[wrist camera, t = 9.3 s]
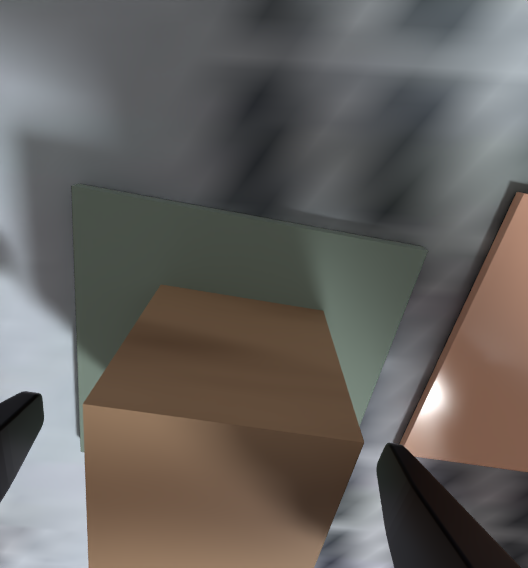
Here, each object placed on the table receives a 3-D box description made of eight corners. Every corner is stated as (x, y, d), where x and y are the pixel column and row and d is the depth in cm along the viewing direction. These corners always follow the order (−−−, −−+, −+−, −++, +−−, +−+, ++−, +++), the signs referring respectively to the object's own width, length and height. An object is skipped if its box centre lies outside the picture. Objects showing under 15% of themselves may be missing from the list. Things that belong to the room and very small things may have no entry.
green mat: (334, 476, 15) (336, 485, 14) (85, 442, 14) (80, 451, 14) (422, 246, 11) (428, 251, 10) (78, 183, 10) (71, 185, 10)
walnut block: (290, 429, 13) (303, 593, 8) (152, 410, 13) (88, 571, 8) (323, 310, 11) (364, 442, 6) (160, 284, 11) (83, 403, 6)
